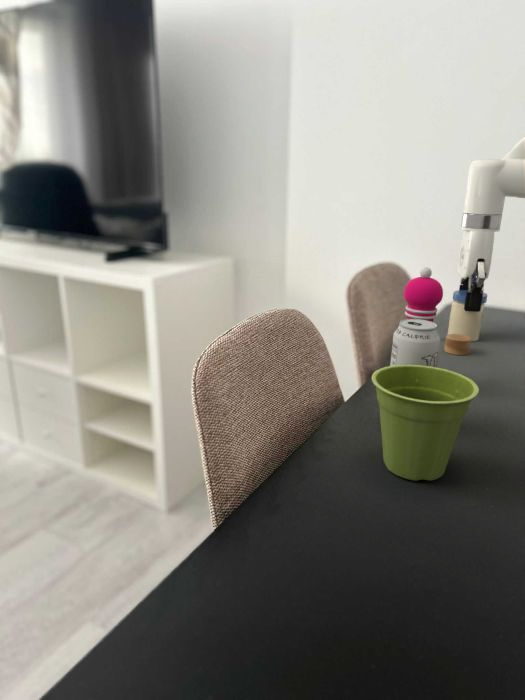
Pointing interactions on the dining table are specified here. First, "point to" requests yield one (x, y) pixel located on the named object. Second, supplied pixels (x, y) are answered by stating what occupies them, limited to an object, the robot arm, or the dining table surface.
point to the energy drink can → (415, 343)
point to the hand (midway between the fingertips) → (468, 306)
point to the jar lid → (461, 296)
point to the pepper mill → (423, 297)
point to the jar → (465, 321)
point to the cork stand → (457, 344)
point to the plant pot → (420, 417)
